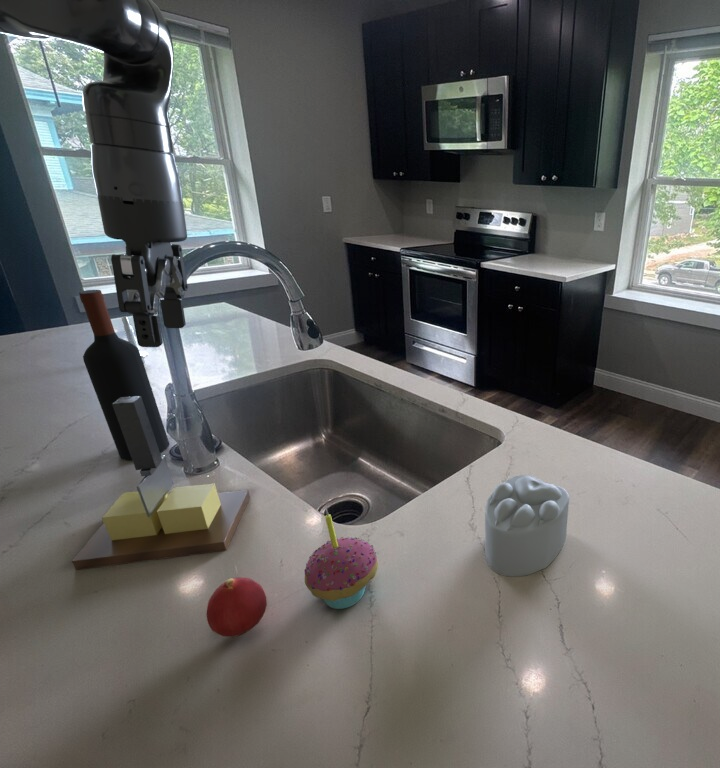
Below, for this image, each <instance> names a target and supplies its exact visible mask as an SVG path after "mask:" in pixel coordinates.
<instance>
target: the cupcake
mask: <svg viewBox="0 0 720 768" xmlns="http://www.w3.org/2000/svg"><path fill="white" fill-rule="evenodd" d="M324 510H325V511H324V512H325V514H326V515H325V516H324V518H325V523H326V526H327V531H328V534H329V535H328V536H329V538H330V540H327V541H326V542H325V543H324V544H322V545H320V546H319V547H317V548H316V549H315V550H314V551H313V552H312V554H311V555H310V556H309V557H308V560H307V562H306V563H305V564H306V565H305V569H304V584H305V587H306V588H307V589H308V590H309V591H310V593H311V594H312V596H313V597H315V598H317V599H322V600H323V601H324V603H325V604H326V605H327V606H329V607H330V608H332V609H334V610H335V609H336V610H343V609H344V610H345V609H347V608H350V607H352V606H354V605H356V604H357V603H358V602H359V601H360V600H361V599H362V597H363V596H364V595H365V590H366V586H367V584H369V582H370V581H372V580H373V579H374V578H375V576H376V574H377V572H378V569H379V568H378V567H379V561H378V558H377V552H376V551H375V548H374V546H373V544H370V543H369V542H367V541H365V540H364V539H360V538H359V537H350V536H347V537H344V536H342V537H340V538H337V536H336V530H335V527H334V523H333V519H332V515H331V514H329V511H328V509H327V508H325V509H324Z"/></svg>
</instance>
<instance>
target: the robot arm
mask: <svg viewBox="0 0 720 768" xmlns="http://www.w3.org/2000/svg"><path fill="white" fill-rule="evenodd" d="M0 34H5V35H9V36H13V37H18V38H24V39H29V40H36V41H47V40H48V41H49V40H52V39H59V40H62V41H66V42H70V43H74V44H76V45H81V46H84V47H87V48H90V49H93V50H95V51H98V52H100V53H102V55H103V74H102V75H103V77H102V80H97V81H91V82H88V83H87V84H85V85H84V86H83V88H82V107H83V112H84V118H85V121H86V122H85V123H86V129H87V133H88V138H89V143H90V152H91V169H92V170H91V171H92V176H93V181H94V187H95V191H96V196H97V202H98V206H99V212H100V217H101V221H102V222H101V223H102V228H103V231H104V234H105V236H107V237H108V238H110V239H113V240H121V241H123V242H124V243H125V254H117V253H116V254H115V253H113V254H111V256H110V261H111V267H112V273H113V279H114V285H115V291H116V296H117V297H116V298H117V304H118V309H119V312H121V313H128V314H129V315H132V320H133V325H134V331H135V337H136V341H137V342H136V343H137V345H138V347H141V348H159V347H161V346H162V345H163V343H164V340H163V334H162V328H161V322H160V315H159V313H158V312H159V305H160V308H161V309H160V310H161V315H162V321H163V326H164V327H165V328H166V329H183V328H185V326H186V324H187V323H186V316H185V309H184V303H183V299H184V298H185V292H187V291H188V288H189V285H188V281H187V280H188V279H187V274H186V267H185V261H184V255H183V248H182V245H181V244H177V243H180V242H185V241H186V240H187V239H188V232H187V223H186V216H185V208H184V201H183V195H182V186H181V180H180V174H179V171H178V168H177V164H176V160H175V155H174V147H173V141H172V133H171V125H170V121H169V114H168V110H169V105H170V99H171V94H172V82H173V74H174V73H173V71H174V61H175V60H174V59H175V58H174V57H175V54H174V43H173V39H172V38H173V37H172V35H171V31H170V27H169V25H168V22H167V20H166V18H165V16H164V14H163V12H162V11H161V9H160V8H159V7H158V5H157V4H156V3H155V2H154V1H153V0H0ZM175 243H176V244H175ZM159 303H160V304H159Z"/></svg>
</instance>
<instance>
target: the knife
mask: <svg viewBox="0 0 720 768" xmlns="http://www.w3.org/2000/svg"><path fill="white" fill-rule="evenodd" d="M112 406H113V408H114V411H115V414H116V416H117V419H118V422H119V425H120V427H121V430H122V433H123V436H124V438H125V441H126V444H127V447H128V449H129V452H130V455H131V458H132V460H133V461H132V463H133V466H134V468H135V471H139V473H140V476H141V477H143V478H142V479H141V481H140V482H138V484H137V485H136V491H138V492H139V495H140V498H141V500H142V503H143V506H144V508H145V511H146V514H147V516H148V517H150V516H151V515H152V513H153V512H154V511H155V509H156V508H157V506H158V505H159V504H160V502H161V501H162V499H163V498H164V497H165V495H166V494H167V493H169V491H170V490H171V488H172V487H173V485H174V484H175V483H174V479H173V477H172V474H171V471H170V468H169V464H168V461H167V458H166V456H165V455H163V454H162V455H161V453H160V452H159V449H158V446H157V443H156V440H155V437H154V434H153V431H152V428H151V425H150V422H149V419H148V416H147V413H146V410H145V407H144V404H143V401H142V398H141V396H134V397H120V398H119V399H118V400H116V401H115V402H114V403H113V404H112Z"/></svg>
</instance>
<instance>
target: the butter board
mask: <svg viewBox="0 0 720 768" xmlns="http://www.w3.org/2000/svg"><path fill="white" fill-rule="evenodd" d="M217 493H218V496H219V500H220V503H221V505H220V507H219V509H218V511H217V513H216V515H215V517H214V519H213V521H212V522H211V524H210V526H209V528H208V529H202V530H194V531H186V532H178V533H169V534H165V533H164V530H163V527H162V528H161V529H160V531H159V532H158V534H157V535H153V536H145V537H136V538H128V539H120V540H111V538H110V535H109V533H108V531H107V528H106V526H105V524H104V522H102V524H101V526H99V527H98V529H97V530H96V531H95V532H94V534H92V536H91V538H89V540H88V541H87V542H86V543H85V544H84V546H83V547H82V548H81V549H80V550H79V552H78V553H77V554H76V555H75V556H74V558H73V559H72V560H71V563H72V566H73V567H74V569H75V571H77V570H84V569H85V570H86V569H93V568H94V569H95V568H100V567H107V566H115V565H116V566H117V565H123V564H131V563H139V562H147V561H153V560H161V559H162V560H163V559H169V558H177V557H184V556H185V557H186V556H193V555H200V554H207V553H215V552H216V553H217V552H221V551H223V552H224V551H227V549H228V548H229V546H230V543H231V541H232V538H233V536H234V535H235V532H236V530H237V527H238V525H239V523H240V521H241V518H242V516H243V514H244V512H245V510H246V507H247V506H248V503H249V501H250V498H251V495H250V491H249V489H244V490H234V491H225V492H224V491H223V492H217Z"/></svg>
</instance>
